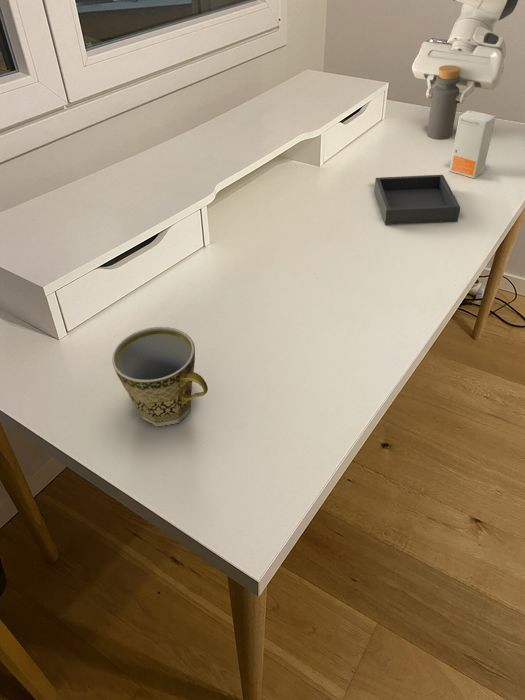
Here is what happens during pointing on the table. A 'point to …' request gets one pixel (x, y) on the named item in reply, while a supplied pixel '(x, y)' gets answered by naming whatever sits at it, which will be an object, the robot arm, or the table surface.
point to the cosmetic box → (472, 143)
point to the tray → (416, 200)
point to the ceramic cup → (158, 373)
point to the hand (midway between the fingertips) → (443, 99)
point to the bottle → (444, 103)
